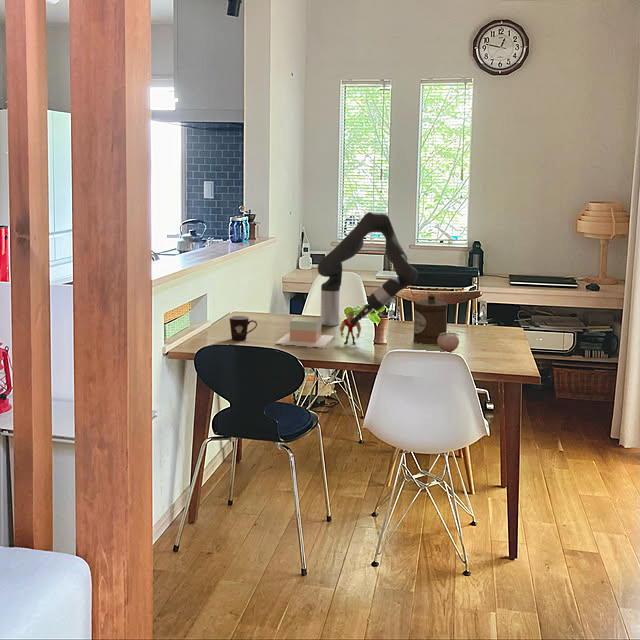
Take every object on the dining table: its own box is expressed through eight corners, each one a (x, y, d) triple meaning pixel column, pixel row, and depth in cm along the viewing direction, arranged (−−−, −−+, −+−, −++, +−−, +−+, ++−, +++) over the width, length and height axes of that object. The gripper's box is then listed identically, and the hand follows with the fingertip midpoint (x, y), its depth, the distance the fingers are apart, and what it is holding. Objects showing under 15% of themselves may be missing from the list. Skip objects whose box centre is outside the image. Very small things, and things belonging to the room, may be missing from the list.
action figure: (338, 343, 361) (339, 310, 358) (339, 342, 364) (340, 309, 362) (360, 345, 360) (361, 311, 357) (360, 343, 363) (362, 310, 360)
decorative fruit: (444, 356, 342) (445, 333, 340) (433, 352, 350) (435, 329, 348) (462, 354, 346) (464, 331, 344) (452, 350, 353) (453, 328, 352)
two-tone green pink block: (288, 334, 377) (288, 313, 375) (334, 338, 373) (335, 316, 371) (275, 344, 356) (275, 322, 354) (324, 348, 352) (324, 325, 350)
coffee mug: (226, 340, 363) (226, 318, 361) (234, 336, 371) (234, 315, 369) (249, 342, 359) (249, 320, 357) (257, 339, 367) (257, 317, 365)
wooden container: (410, 338, 377) (412, 291, 372) (441, 338, 378) (444, 291, 374) (416, 345, 362) (419, 296, 358) (449, 345, 364) (452, 297, 359)
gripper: (376, 289, 362) (350, 312, 367) (371, 294, 349) (344, 318, 353) (387, 301, 362) (361, 325, 367) (383, 307, 348) (356, 331, 353)
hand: (353, 321), depth 360 cm, fingers open, 8 cm apart
